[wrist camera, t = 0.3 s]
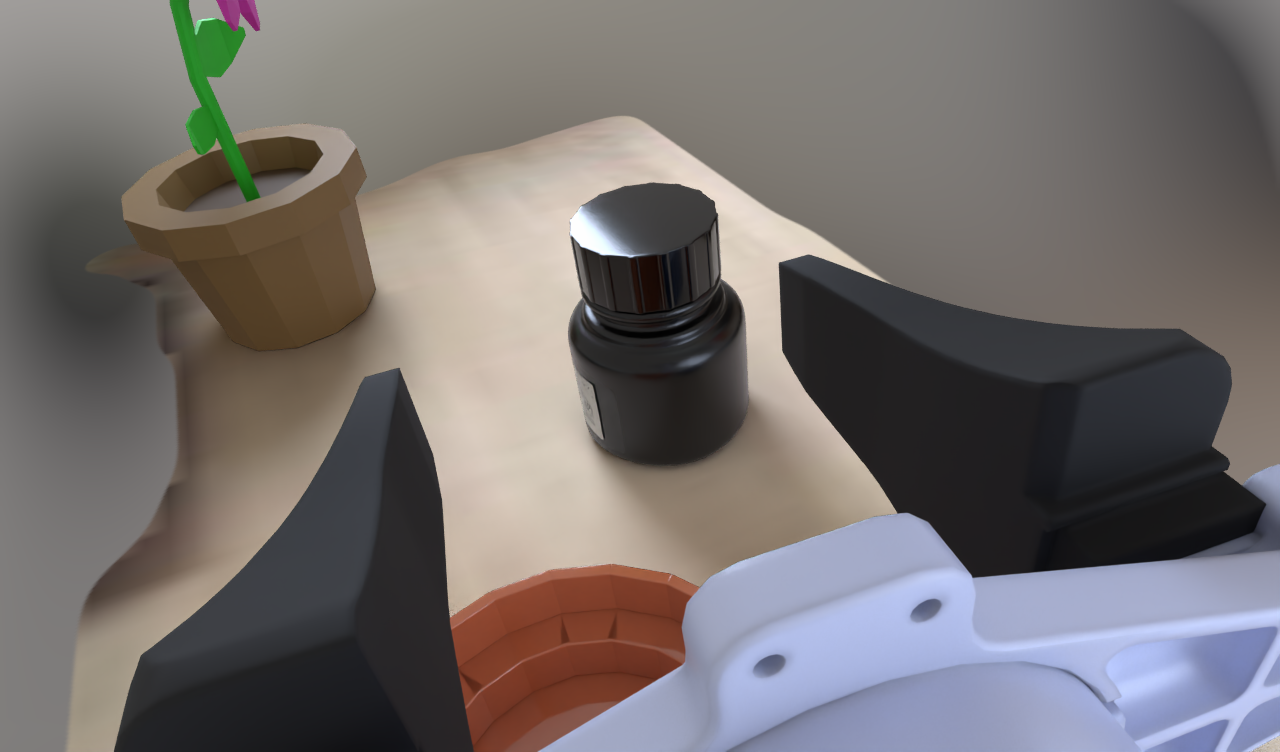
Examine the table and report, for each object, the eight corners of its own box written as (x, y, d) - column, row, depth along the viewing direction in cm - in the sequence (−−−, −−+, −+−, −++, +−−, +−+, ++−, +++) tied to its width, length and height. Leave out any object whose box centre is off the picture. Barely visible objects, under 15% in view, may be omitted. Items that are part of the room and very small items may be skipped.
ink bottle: (632, 345, 50) (604, 161, 42) (772, 372, 46) (769, 177, 39) (554, 454, 43) (504, 260, 36) (711, 495, 40) (692, 290, 32)
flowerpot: (407, 338, 53) (193, -236, 34) (178, 394, 51) (-182, -179, 32) (401, 235, 64) (237, -244, 45) (213, 277, 62) (-41, -201, 43)
